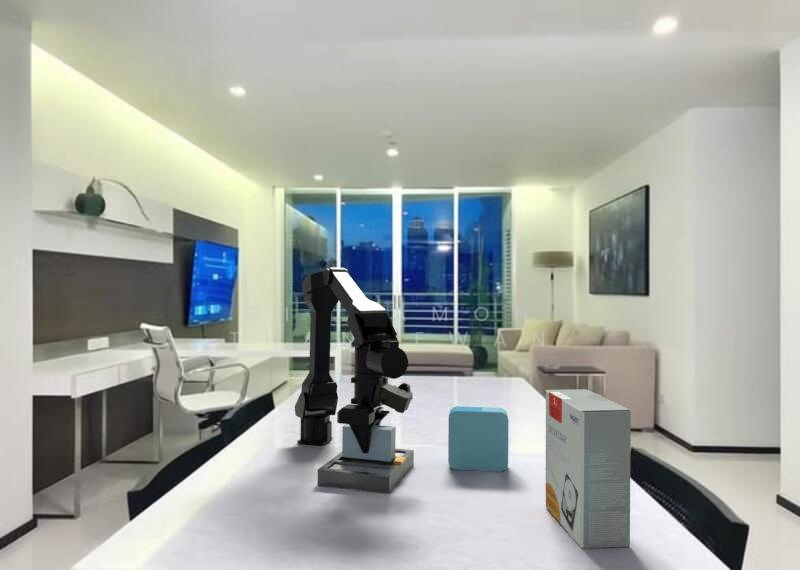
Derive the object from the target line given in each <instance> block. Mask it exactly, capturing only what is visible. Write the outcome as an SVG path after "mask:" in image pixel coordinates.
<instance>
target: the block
mask: <svg viewBox="0 0 800 570" xmlns="http://www.w3.org/2000/svg"><path fill="white" fill-rule="evenodd" d="M341 427H342V435H341V436H342V437H341V439H342V440H341V442H342V445H341V446H342V447H341V448H342V449H341V452H342V457H348V458H359V459H369V460H379V461H389V462H391V461H392V460H393V459H394V458H395V449H396V431H397V430H396V429H397V428H396V426H392V425H391V426H390V425H381V424H380V425H374V426H373V427H372V434H371V441H370V447H369V452H368V453H363V452H362V450H361V448H360V446H359V444H358V442H357V439H356V437H355V435H354V433H353V431H352V429H351V427H350V426H349V424H343V426H341Z"/></svg>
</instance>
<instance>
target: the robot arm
mask: <svg viewBox="0 0 800 570" xmlns="http://www.w3.org/2000/svg"><path fill="white" fill-rule="evenodd" d="M350 275H351V274H350V271H349V270H348V269H347V268H345V267H327V268H324V269H323V270H321V271H318V272H314V273H309V274H308V275H307V276H306V277H305V278H304V279H303V280H302V286H301V287H302V292H303V293H302V294H303V300H304V302H305V304H306V306H307V308H308V309H309V311H310V322H309V323H310V324H309V325H310V326H309V328H310V329H309V330H310V332H309V362H308V363H309V365H308V366H309V367H308V369H309V370H308V374H307V376H306V377H305V378H304V381H303V382H302V383H301V392H300V394H299V396H298V398H297V400H296V403H295V405H294V414H295V416H296V417H298V418H299V419H300V439H298V440H297V441H296V442H297V444H302V445H303V444H304V445H314V446H323V445H325V444H327V443H328V442H330V441H331V440H332V439H333V436H332V434H333V433H332V431H333V430H332V429H333V428H332V425H333V424H332V423H333V422H332V421H331V416H336V423H337V424H340V425H341V424H342V425H346V424H349V426H350V427H351V429H352V431H353V433H354V435H355V437H356V439H357V442H358V444H359V446H360V448H361V450H362V452H363V453H368V452H369V447H370V441H371V434H372V427H373V426H374V425H381V424H382V421H383V420H384V419H385V418H386V417H387V416H388V415H389V414H390V413H391V410H390V411H389V410H384V407H383V406H387V408H389V409H392V410H394V411H395V412H396V413H400V414H404V413H405V412H406V411H408V409H409V407H410V403H411V401H412V400H413V392H411V385H410V384H408V383H406V382H402V383H401V384H399V385H398V386H397V385H395V384H394V385H393V384H389V380H388V379H394V380H395V379H399V378H401V377H403V375H405V373H406V371H407V370H408V366H409V358H408V355H407V354H406V351H404V349H402V348H400V341H399V340H398V337H397V335H398V333H397V332H396V331H397V330H395V329H396V328H395V327H394V325H393V323H392V319H391V316H390V315H389V313H388V311H387V310H386V309H385V308H384V307H383V306H382V305H381V304H379V303H378V302H376V301H373V300H370V299H369V298H368V297H366V295H365V294H364V293H363V291H362V290H361V289H360V287H359V286H358V285H357V284H356V282H355V281H354V280H353V278H352V276H350ZM338 303H340V304H341V305H342V307H343V309H344V310H345V311H346V314H347V316H348V317H347V321H346V324H347V326H348V329H349V331H350V333H351V335H352V336H353V338H354V340H352V342H351V344H350V345H351V347H353V348H354V376H352V377H350V383H351V384H354V391H353V393H354V395H353V397H351V398H350V404H346V405H344V406H342V407H341V408H340V409H339V410H338V411H337V407H338V402H339V395H338V383H337V382H335V381H334V379H333V377H332V376H331V370H330V369H331V342H332V341H331V339H332V337H331V335H332V334H331V333H332V312H333V311H334V309H335V308H336V306H337V305H338Z"/></svg>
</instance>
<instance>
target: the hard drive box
mask: <svg viewBox="0 0 800 570" xmlns="http://www.w3.org/2000/svg"><path fill="white" fill-rule="evenodd" d="M631 413H632V411H631V409H630V408H627V407H625V406H624V405H621V404H619V403H617V402H614V401H612V400H611V399H608V398H606V397H603V396H601V395H600V394H597V393H595V392H593V391H591V390H589V389H585V388H584V389H577V388H576V389H545V507H546V508H547V509H548V511H549V512H550V514H551V515H552V517H553V518H554V519H556V520H557V521H558V523H559V524H561V527H563V528H564V530H565V531H566V532H567V533H568V535H569V537H570V538H571V539H573V541H575V543H576V544H577V545H578V546H579V547H580V548H581V549H596V548H602V549H603V548H625V547H626V548H627V547H628V548H629V547H630V545H631V543H630V542H631V445H632V444H631V440H632V439H631V433H632V432H631V428H632V427H631V424H632V423H631V421H632V420H631V415H632V414H631Z"/></svg>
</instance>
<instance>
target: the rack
mask: <svg viewBox="0 0 800 570" xmlns="http://www.w3.org/2000/svg"><path fill="white" fill-rule="evenodd" d="M414 452H415V451H414V449H403V448H395V458H394V459H393V460H392V461H391V462H389V461H379V460H369V459H359V458H348V457H342V451H341V452H339V453H338V454H337V455H335V456H334V457H332V458H331V459H329V460H328V461H327V462H325V463H324V464H323V465H322V466H320V467H318V468H317V486H318V487H326V488H336V489H344V490H353V491H363V492H372V493H379V494H380V493H381V494H387V495H388V494H390V493H392V491H393V490H394V489H395V487H396V486H397V485H398V484H399V482H401V480H403V478H404V477H405V476H406V475H407V474H408V472H409V471H410V470H411V468H412V467H413V466H414V463H415V461H414V460H415V453H414Z"/></svg>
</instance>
